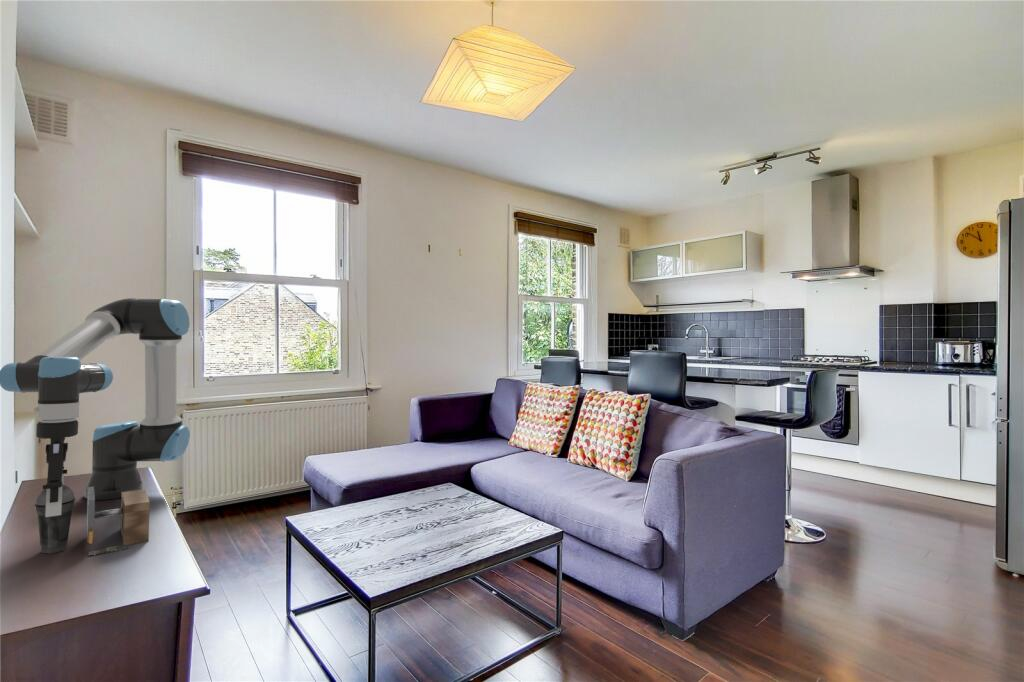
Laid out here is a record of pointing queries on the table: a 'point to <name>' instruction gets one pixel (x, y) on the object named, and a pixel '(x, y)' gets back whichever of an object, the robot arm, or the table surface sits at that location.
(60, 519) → the beverage cup
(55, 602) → the table surface
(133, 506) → the brown boxy piece
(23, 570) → the table surface
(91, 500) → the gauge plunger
